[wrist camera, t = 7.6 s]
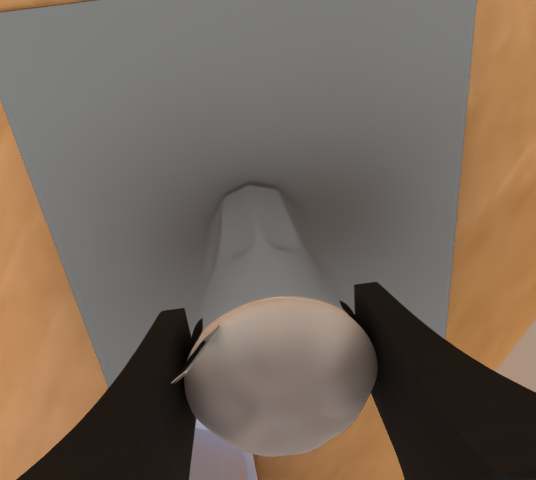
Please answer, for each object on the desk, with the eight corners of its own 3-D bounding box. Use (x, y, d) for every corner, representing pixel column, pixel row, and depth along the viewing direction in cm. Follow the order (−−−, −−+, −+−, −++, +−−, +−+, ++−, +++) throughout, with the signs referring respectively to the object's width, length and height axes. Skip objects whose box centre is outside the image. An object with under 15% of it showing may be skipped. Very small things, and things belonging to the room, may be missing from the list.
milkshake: (241, 124, 17) (274, 299, 8) (337, 222, 19) (445, 442, 10) (151, 210, 18) (95, 444, 9) (252, 293, 20) (284, 543, 11)
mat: (438, 331, 24) (445, 342, 23) (112, 376, 24) (108, 388, 23) (470, -47, 16) (481, -48, 15) (-20, 14, 16) (-31, 16, 15)
